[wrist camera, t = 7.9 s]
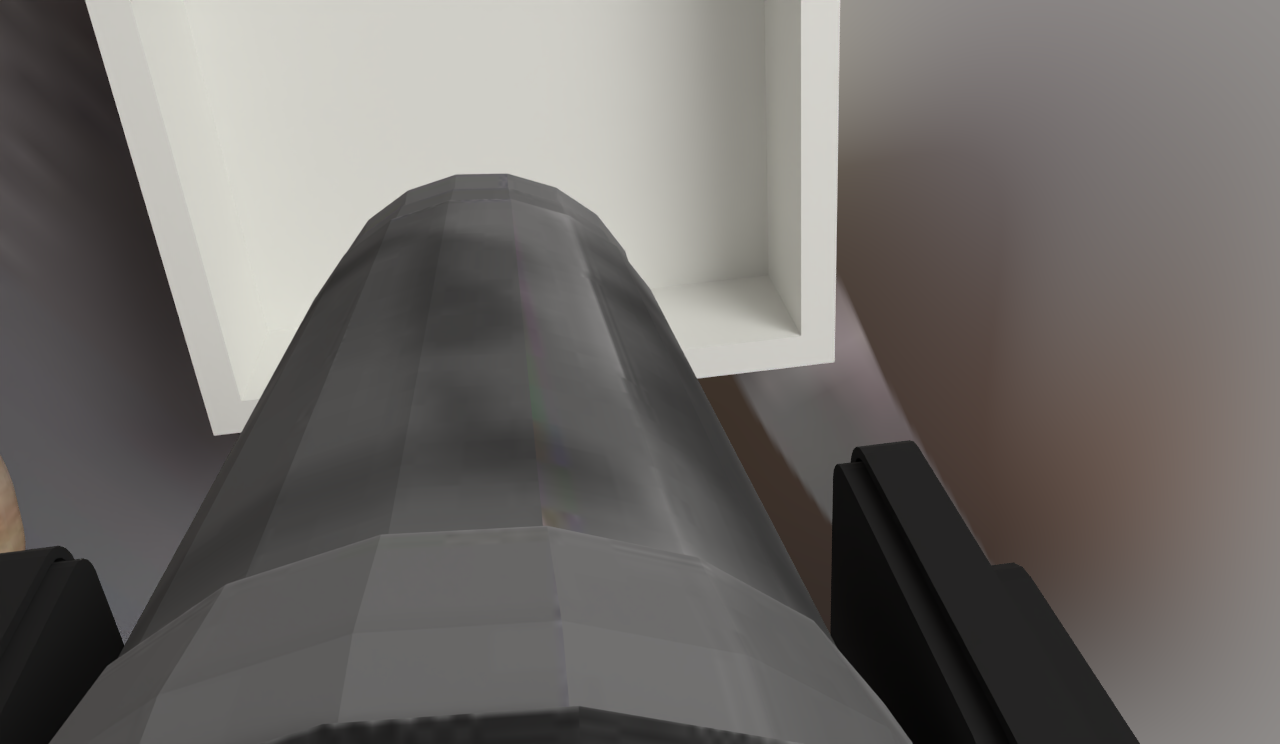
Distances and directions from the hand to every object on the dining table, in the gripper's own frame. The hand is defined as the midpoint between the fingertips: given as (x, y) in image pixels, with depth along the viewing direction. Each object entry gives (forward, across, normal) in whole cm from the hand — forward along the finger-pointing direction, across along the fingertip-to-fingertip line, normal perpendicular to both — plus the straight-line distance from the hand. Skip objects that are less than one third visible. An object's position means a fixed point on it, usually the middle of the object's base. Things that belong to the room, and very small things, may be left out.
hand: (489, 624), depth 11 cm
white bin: (+25, 0, 0) cm, 25 cm away
